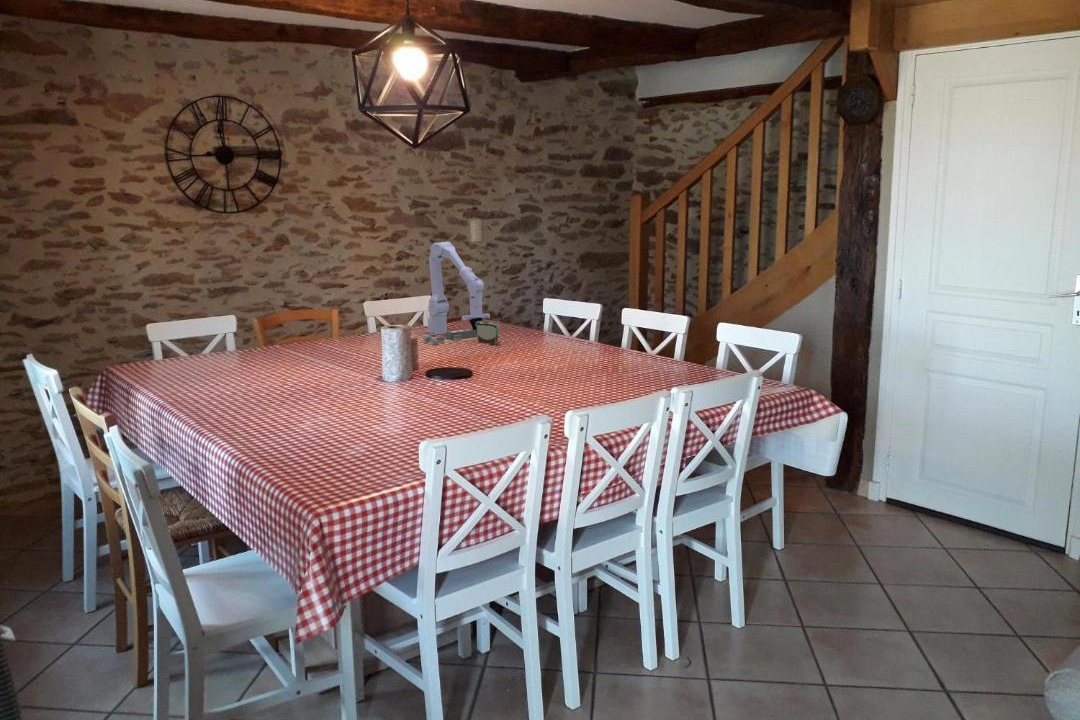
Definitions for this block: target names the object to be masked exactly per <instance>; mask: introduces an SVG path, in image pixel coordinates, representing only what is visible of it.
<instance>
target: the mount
mask: <svg viewBox="0 0 1080 720" xmlns="http://www.w3.org/2000/svg"><path fill="white" fill-rule="evenodd" d="M422 337H423V340H420V343H423V344H426V345H428V346H429V345H430V346H438V345H441V344H445V343H446V344H447V343H453V342H461V341H469V340H478V335H477V337H475V338H467V339H462V335H453V340H448V339H446V333H443V336H437V337H436V334H434V333H430V334H423V336H422Z"/></svg>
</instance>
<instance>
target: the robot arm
mask: <svg viewBox="0 0 1080 720" xmlns="http://www.w3.org/2000/svg"><path fill="white" fill-rule="evenodd" d="M429 250H430V252H429V257H428V263H429V265H428V266H429V276H430V284H431V285H430V286H431V297H430V298H429V300H428V302H429V303H428V306H427V310H428V312H429V314H430V315H429V316H428V318H427V330H426V333H428V332H429V334H435V335H440V334H444V333H446V332H447V328H448V327H447V326H448V325H447V323H448V321H447V315H448V312H449V310H450V304H449V302H448V297H447V296H446V295H445V293H444V282H443V272H442V261H443V260H444V259H448V260H449V261H450V262H452V264H453V265H454V266H455V267H456V269H457V270H458V271H459V276H460V277H461V279H462V280H463V281H464V282H465V284H466V286H467V291H468V293H469V314H466V315H462V316H461V321H466V322H467V321H469V323H470V325H471V327H472V328H471V329H475V330H477V326H476V322H477V321H484V319H490V318H491V314H490V313H487V312H485V313H483V291H484V289H485V283H484V281H483V279H481V278H479V277H478V276H476V274H475V273H474V271H473V268H471V267H469V266H466V265H465V263H464V261H463V260H462V259H461V257H460V256H459V255H458V253H457V250H456V247H455V246H454V245H453V244H452V242H451V241H441V242H433V244H432V245H431V246H430V247H429Z"/></svg>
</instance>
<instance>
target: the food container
mask: <svg viewBox="0 0 1080 720" xmlns="http://www.w3.org/2000/svg"><path fill="white" fill-rule="evenodd" d="M476 326H477V335H478V339H477V343H482V344H487V345H488V346H493V347H495V346H497V345H498V338H499V331H500V330H499V329H501V326H500V322H499V321H496V320H495V321H494V320H483V321H477V322H476Z"/></svg>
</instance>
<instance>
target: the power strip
mask: <svg viewBox="0 0 1080 720" xmlns="http://www.w3.org/2000/svg"><path fill="white" fill-rule="evenodd" d="M453 335H462V339H467V338H475V337H477V330H475V329H473V328H466V329H458V330H448V331H447V332H446V339H448V340H453Z"/></svg>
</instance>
